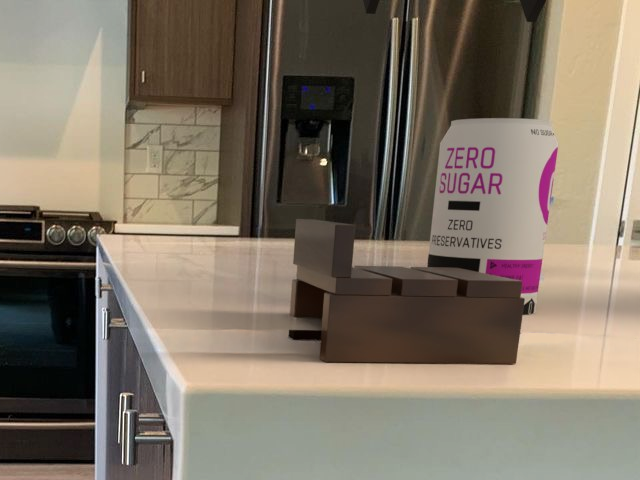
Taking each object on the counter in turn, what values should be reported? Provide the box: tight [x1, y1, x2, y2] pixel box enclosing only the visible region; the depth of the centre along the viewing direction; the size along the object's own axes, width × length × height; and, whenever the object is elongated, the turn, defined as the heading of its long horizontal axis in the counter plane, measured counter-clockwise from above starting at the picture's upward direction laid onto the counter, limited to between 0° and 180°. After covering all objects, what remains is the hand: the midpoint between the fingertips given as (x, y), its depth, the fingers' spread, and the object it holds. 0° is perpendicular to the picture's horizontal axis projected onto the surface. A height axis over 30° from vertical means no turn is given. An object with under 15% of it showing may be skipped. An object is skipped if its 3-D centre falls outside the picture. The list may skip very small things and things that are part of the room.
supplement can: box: [426, 117, 559, 335], centre depth 71 cm, size 8×8×15 cm
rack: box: [288, 218, 525, 365], centre depth 61 cm, size 12×10×8 cm
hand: (457, 3), depth 76 cm, fingers open, 13 cm apart
